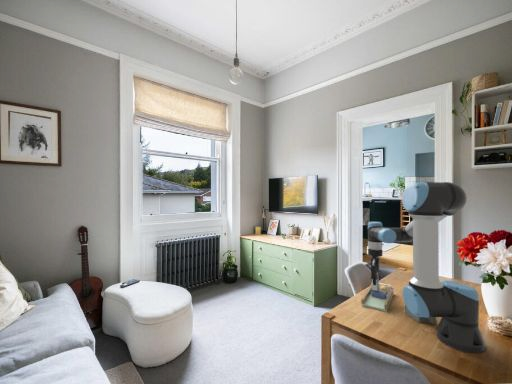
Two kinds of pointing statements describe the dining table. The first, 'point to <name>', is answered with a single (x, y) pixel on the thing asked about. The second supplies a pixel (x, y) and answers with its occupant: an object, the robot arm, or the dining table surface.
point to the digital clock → (420, 319)
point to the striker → (378, 291)
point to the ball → (384, 288)
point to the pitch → (377, 299)
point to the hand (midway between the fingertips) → (375, 289)
